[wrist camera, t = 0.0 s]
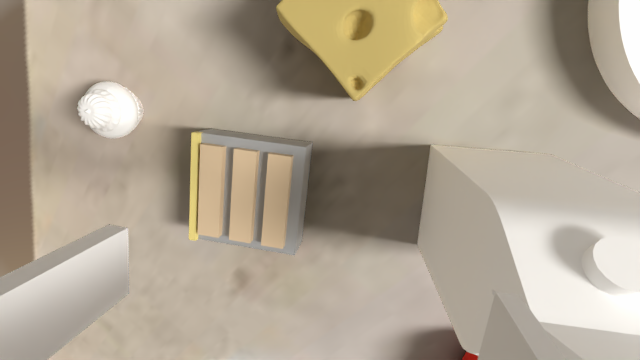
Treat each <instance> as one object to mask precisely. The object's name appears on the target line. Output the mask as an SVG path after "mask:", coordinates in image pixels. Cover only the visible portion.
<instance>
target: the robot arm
mask: <svg viewBox="0 0 640 360" xmlns="http://www.w3.org/2000/svg"><path fill="white" fill-rule="evenodd" d="M128 294H129V251H128V228H127V227H121V226H116V225H110V224H109V225H107V226H105V227H103V228H101V229H99V230H96V231H94V232H92V233H90V234H88V235H86V236H84V237H82V238H80V239H78V240H76V241H74V242H72V243H70V244H68V245H66V246H64V247H62V248H59V249H57V250H55V251H53V252H51V253H49V254H47V255H45V256H43V257H41V258H39V259H37V260H35V261H33V262H31V263H29V264H27V265H25V266H22V267H20V268H18V269H16V270H14V271H12V272H10V273H8V274H6V275H4V276H2V277H0V360H47V359H49V358H50V357H51V356H52V355H54V354H55V353H56V352H57V351H59V350H60V349H61V348H62V347H64V346H65V345H66V344H67V343H69V342H70V341H71V340H72V339H73V338H75V337H76V336H77V335H78V334H80V333H81V332H82V331H83V330H85V329H86V328H87V327H88V326H90V325H91V324H92V323H93V322H95V321H96V320H97V319H98V318H99V317H101V316H102V315H103V314H104V313H106V312H107V311H108V310H109V309H111V308H112V307H113V306H114V305H116V304H117V303H118V302H119V301H121V300H122V299H123V298H124V297H125V296H127V295H128ZM478 360H566V358H565V357H564V356H563V354H562V353H561V351H560V350H559V349H558V347H557V346H556V345H555V343H554V342H553V340H552V339H551V338H550V336H549V335H548V334H547V332H546V331H545V329H544V328H543V327H542V325H541V324H540V323H539V321H538V320H537V319H536V317H535V316H534V314H533V313H532V312H531V310H530V309H529V308H528V306H527V305H526V303H525V302H524V301H523V299H522V298H521V297H520V296H518V295H512V294H506V293H501V292H495V296H494V299H493V303H492V307H491V311H490V315H489V318H488V322H487V326H486V330H485V333H484V337H483V341H482V345H481V349H480V352H479V356H478Z"/></svg>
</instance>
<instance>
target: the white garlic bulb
mask: <svg viewBox="0 0 640 360" xmlns="http://www.w3.org/2000/svg"><path fill="white" fill-rule="evenodd" d="M143 109H144V108H143V105H142V103H141V102H140V100H139V99H138V98H137V97H136V96H135V95H134V94H133V93H132V92H131V91H130V90H128V89H127V88H126V87H123V86H122V85H120V84H118V83H115V82H111V81H104V82H99V83H96V84H94V85H93V86H91V87H90V88H89V89H88V91H87V92H86V93H85V95H84V96H83V97H82V98H81V100H79V102H78V107H77V110H78V111H79V113H78V115H79V116H81V120H82V121H84V123H85V125H89V127H90V128H91V129H92V130H93V131H94V132H96V133H97V134H99V135H100V136H103V137H105V138H111V139H114V138H121V137H124V136H126V135H128V134H129V133H130V132H132V130H133V129H135V128H136V126H137V125H138V124H139V122H140V120H141V119H142V117H143V114H144V113H143V112H144V110H143Z"/></svg>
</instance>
